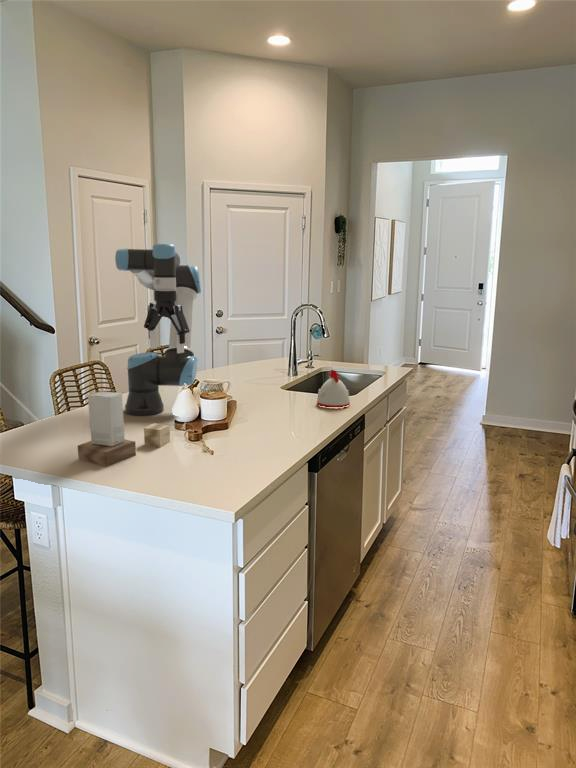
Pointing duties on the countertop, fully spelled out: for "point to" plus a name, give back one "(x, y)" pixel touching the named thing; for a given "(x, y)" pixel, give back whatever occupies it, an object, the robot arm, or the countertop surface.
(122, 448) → the walnut pedestal
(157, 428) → the oak cube
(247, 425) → the countertop surface
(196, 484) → the countertop surface
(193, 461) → the countertop surface
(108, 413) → the skincare box
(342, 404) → the kitchen timer
